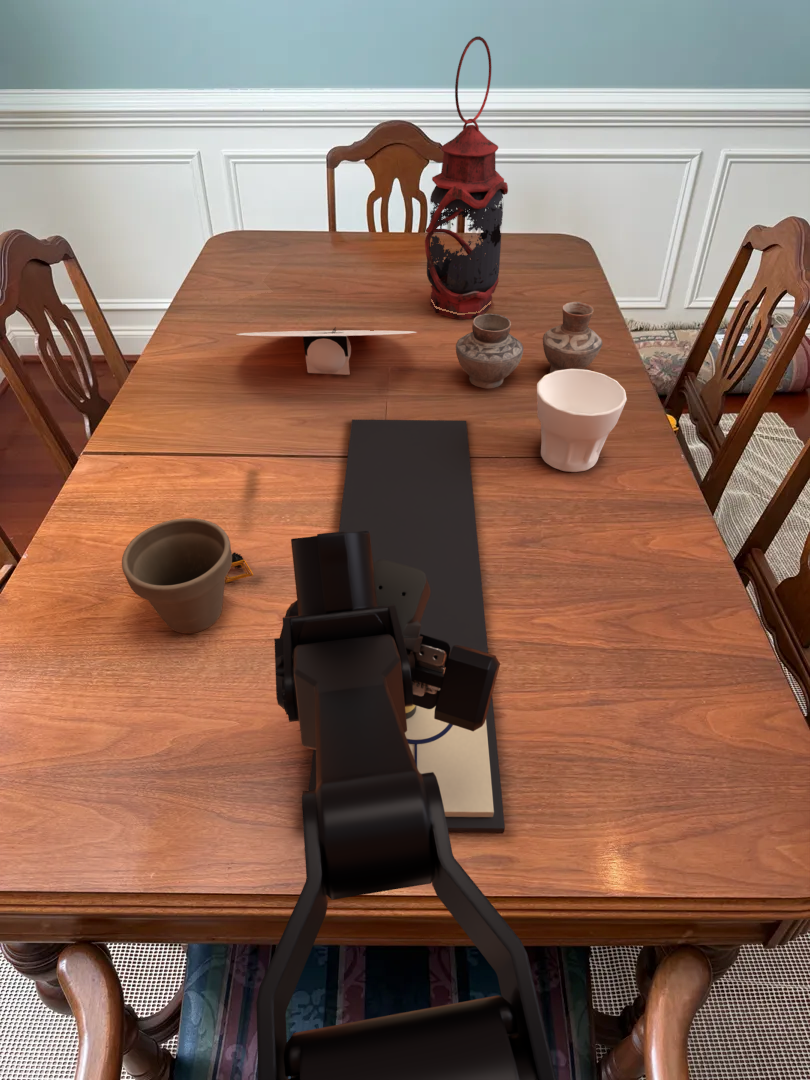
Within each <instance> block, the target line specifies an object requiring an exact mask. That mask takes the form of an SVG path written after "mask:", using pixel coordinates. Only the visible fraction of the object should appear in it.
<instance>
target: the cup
mask: <svg viewBox="0 0 810 1080" xmlns="http://www.w3.org/2000/svg"><path fill="white" fill-rule="evenodd" d="M627 401H628V399H627V393H626V390H625V388H624V387H623V386H622V384H620V382H619V381H617V380H616V379H614V378H612V377H610V376H609V375H607V374H604V373H601V372H597V371H593V370H590V369H583V370H582V369H566V370H558V371H554V372H552V373H550V372H549V373H548V374H545V375H544V376H543V377H541V378H540V379H539V381H538V382H537V383H536V416H537V419H538V420H539V422H540V433H541V434H540V435H541V436H540V439H541V444H540V445H541V446H540V457H541V458H542V460H543V461H544V463H546V464H547V465H548V466H550V467H552V468H554V469H557V470H560V471H563V472H569V473H570V472H571V473H577V472H584V471H585V472H586V471H588V470H590V469H591V468H593V467H594V466H595V465H596V464H597V462H598V461H599V457H600V454H601V451H602V449H603V448H604V445H605V443H606V441H607V439H608V437H609V435H610V432H612V431H613V429H614V428H615V427H616V425H617V424H618V421H619V419H620V417H621V415H622V412H623V410H624V407H625V405H626V402H627Z"/></svg>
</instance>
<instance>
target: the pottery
mask: <svg viewBox="0 0 810 1080" xmlns="http://www.w3.org/2000/svg"><path fill="white" fill-rule="evenodd" d="M561 309H562V324H559V325H556V326H553V327H552V328H549V329H548V330H546V331H545V333H543V335H542V346H543V352H544V356H545V358H546V360H547V362H548V363H549V364H550V365H551V366H550V367H549V374H550V373H552V372H554V371H558V370H566V369H582V370H586V368H587V367H589V366H590V365H591V364H592V363H593V362H594V360H595V359H596V358H597V356H599V355H598V354H599V353H600V351H601V349H602V347H603V339H602V338H601V337H600V336H599V334H597V332H595V330H593V329H591V328H590V327H589V324H590V321H591V318H592V317H593V314H594V311H595V309H594V307H593V306H592V305H590V304H588V303H585V302H582V301H571V302H567V303H565V304H563V305H562V308H561ZM471 326H472V327H471V329H472V331H471V332H469V333H466V334H465V335H463V336H462V337H460V338H459V339H458V340H457V341H456V342H455V353H456V358H457V361H458V363H459V365H460V367H461V369H462V370H463V371H464V372H465V373H466V374H467V375H468V376H469V383H471V384H472V385H473V386H475V387H478V388H481V389H494V388H495V389H496V388H498V387H500V386H501V385H502V384H503V383H504V379H506V378H507V377H508V376H509V375H511V374H512V373H513V372H514V371H515V370H516V368H518V366H519V364H520V363H521V360H522V357H523V355H524V344H523V343H522V341H521V340H519V339H518V338H517V337H515V336H513V335H512V334H511V333H510V332H511V328H512V327H511V326H512V321H511V320H510V319H509V318H508V317H506V316H504V315H502V314H498V313H483V314H482V315H479V316H477V317H475V318H473V320H472V325H471Z"/></svg>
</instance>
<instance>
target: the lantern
mask: <svg viewBox="0 0 810 1080" xmlns="http://www.w3.org/2000/svg"><path fill="white" fill-rule="evenodd" d="M476 41H480V42H482V44H483V45H484V47H485V51H486V53H487V60H488V78H487V86H486V92H485V95H484V98H483V101H482V103H481V104H482V105H481V106H480V109H479V111H478V112H477V114H476V115H475V116H474V117H473V118H468V119H466V118H464V116H463V115H462V112H461V109H460V103H459V81H460V74H461V73H460V72H461V68H462V64H463V61H464V58H465V56H466V53H467V52H468V50H469V48H470V46H471V45H472V44H473V43H474V42H476ZM458 62H459V63H458V66H457V69H456V75H455V84H454V99H455V106H456V112H457V114H458V116H459V118H460V120H461V121H462V122H463V123H464V124H463V127H462V130H461V131H460V132H459V133H458V134H457V135H456V136H455V137H453V138H452V139H451V140H449V141H447V142H446V143H444V144H442V146H441V148H440V149H441V151H442V152H443V156H442V165H441V171H440V173H437V174H436V175H434V176H432V177H431V181H432V182H433V183H434V185H435V186H434V188H433V190H432V192H431V194H430V198H429V199H430V200H429V202H430V203H429V204H430V205H432V206H433V207H432V209H430V212H429V219H428V220H429V224H428V226H427V228H426V229H425V233H426V236H425V239H424V249H425V257H426V277H427V280H428V282H429V283H430V284H431V285H430V287H431V292H430V299H429V300H430V301H429V303H430V306H431V308H432V310H433V311H434V313H435V314H438V315H441V316H445V317H448V318H453V319H456V320H467V319H468V320H469V319H474V318H475V317H477V316H479V315H482V314H486V312H487V311H489V310H490V309H491V308H492V303H491V304H490V305H488V306H487V307H486V308H485V309H484V310H482V311H481V312H480V313H476V314H465V315H457V314H453V313H450V312H446V311H442V310H439V309H436V308H435V307H434V305H433V303H432V302H431V299H432V300H433V302H434V304H435V306H437V307H440V308H442V309H446V310H449V311H453V312H457V313H468V312H476V311H477V312H478V311H480V310H481V309H482V308H483V307H484V306H485V305H487V304H488V303H489V302H490V301H491V300H492V301H493V294H494V293H495V291H496V289H497V287H498V284H499V276H500V275H499V274H500V265H501V249H502V232H501V231H502V229H503V228H502V226H503V217H504V215H503V213H504V207H503V199H504V196H505V195H507V194H508V193H509V187H508V186H509V185H508V183H507V182H505V178H504V177H503V176H502V175H500V173H499V172H498V171H497V170H496V152H497V151H498V149H499V145H497V144H496V143H495V142H494V141H491V140H490V139H489V138H487V136H486V135H484V134H483V133H482V131H481V130H480V127H479V125H478V122H477V120H478V118H479V117H480V116H481V114H482V112H483V111H484V108H485V106H486V103H487V100H488V96H489V93H490V88H491V80H492V56H491V49H490V48H489V45H488V42H487V41H486V39H485V38H483V37H482V36H475V37H473V38H471V39H469V41H468V42H467V44H466V45H465V47H464V49H463V51H462V53H461V56H460V59H459V61H458ZM472 123H473V124H472ZM457 217H458V218H460V217H462V218H464V219H466V220H467V221H468V220H469V224H467V227H468V226H469V227H468V229H467V231H468V232H471V231H472V230H475V231H476V232H478V231H479V230H480V231H482V232H480V233H477V236H478V237H477V239H476V242H475V243H474V244H475V247H474V248H471V247H470V246H472V241H471V240H467V242H466V241H465V240H464V238H462V237H461V236H460V235H458V233H456V232H454V231H453V230H450V229H448V228H443V226H448V225H449V223H450V221H455V220H456V218H457ZM472 222H473V223H472ZM451 225H452V226H455V225H454V223H453V222H451ZM452 226H450V227H449V228H452ZM465 226H466V225H465V224H464V225H463V227H465ZM434 234H446V235H449V236H450V237H452V238H453V239H455V241H456V242H458V244H459V245H460V246H461V247H460V249H459V250H455V251H453V252H451V249H450V248H447V249H446V248H445V244H441V243H442V242H443V243H445V242H446V240H447V239H444V240H443V241H441V239H440V237H438V235H435V236H434ZM471 238H473V235H471ZM479 241H480V242H479ZM460 253H461V254H460ZM464 253H465V254H464Z"/></svg>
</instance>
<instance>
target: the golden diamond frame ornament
mask: <svg viewBox="0 0 810 1080" xmlns="http://www.w3.org/2000/svg"><path fill="white" fill-rule="evenodd" d="M231 568H234V569H242V570H243V572H245V573H241V574H238V575H234V576H230V577H229V575H228V574H227V575H226V577H225V584H226V583H229V582H233V581H237V580H241V579H245V578H249V577H253V576H254V573H253V571H252V570H251V568H250V566H249V565H248V563H247V561H246V560H245V558H244V557H243V555H241V553H237V552H232V564H231V567H230V569H231Z"/></svg>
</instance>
